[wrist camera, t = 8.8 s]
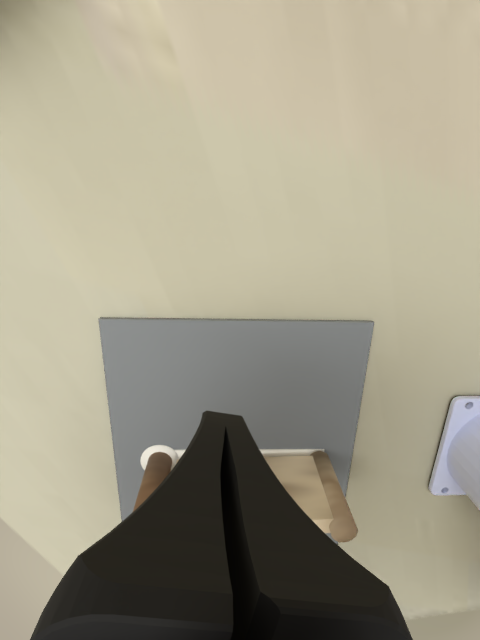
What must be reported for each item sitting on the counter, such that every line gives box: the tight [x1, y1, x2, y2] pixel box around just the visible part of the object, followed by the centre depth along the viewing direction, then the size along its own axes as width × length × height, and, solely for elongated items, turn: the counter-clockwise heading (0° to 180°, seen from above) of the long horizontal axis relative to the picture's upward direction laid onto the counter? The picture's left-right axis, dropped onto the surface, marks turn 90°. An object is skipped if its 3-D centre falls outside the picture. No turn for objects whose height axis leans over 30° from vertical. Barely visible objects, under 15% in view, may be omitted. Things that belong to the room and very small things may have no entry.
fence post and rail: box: [133, 452, 172, 511], centre depth 22 cm, size 2×10×6 cm, turn 178°
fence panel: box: [176, 451, 358, 542], centre depth 21 cm, size 10×1×5 cm, turn 90°
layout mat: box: [99, 317, 374, 545], centre depth 23 cm, size 16×19×1 cm
